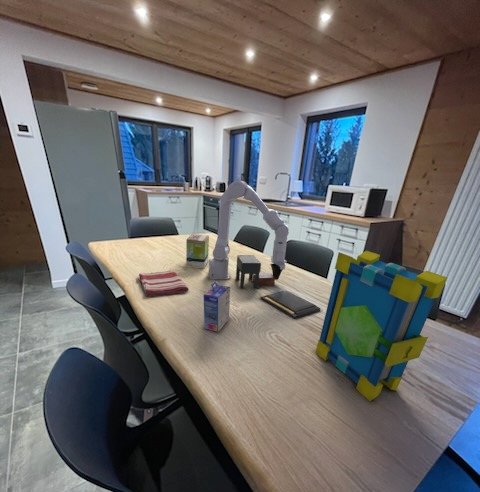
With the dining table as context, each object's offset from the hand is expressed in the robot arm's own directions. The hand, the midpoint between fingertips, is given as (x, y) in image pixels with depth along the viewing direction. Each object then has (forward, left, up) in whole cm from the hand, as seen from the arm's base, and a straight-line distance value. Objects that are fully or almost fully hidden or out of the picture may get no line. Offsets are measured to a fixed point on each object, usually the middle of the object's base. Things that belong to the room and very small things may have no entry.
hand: (275, 279), depth 125 cm
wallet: (-1, -22, -2) cm, 23 cm away
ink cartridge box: (-32, -35, -2) cm, 48 cm away
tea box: (-35, +30, -2) cm, 46 cm away
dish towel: (-52, 0, -2) cm, 52 cm away
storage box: (-6, 0, -2) cm, 6 cm away
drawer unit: (-14, 0, -2) cm, 14 cm away
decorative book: (+2, -62, -2) cm, 63 cm away
